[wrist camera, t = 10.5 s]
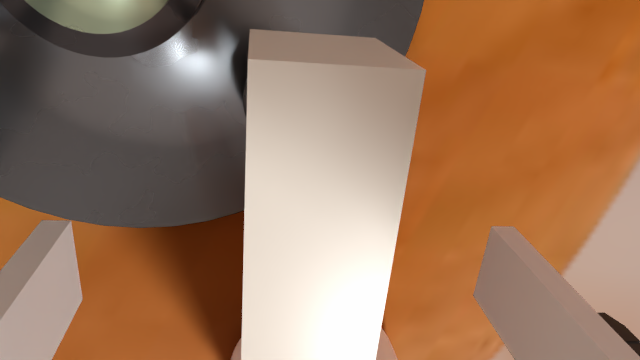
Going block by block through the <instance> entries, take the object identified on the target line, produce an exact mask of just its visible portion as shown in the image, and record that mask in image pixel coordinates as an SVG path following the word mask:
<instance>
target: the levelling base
mask: <svg viewBox="0 0 640 360" xmlns="http://www.w3.org/2000/svg"><path fill="white" fill-rule="evenodd" d="M423 2H424V0H0V197H1V198H4V199H6V200H9V201H12V202H14V203H17V204H19V205H22V206H24V207H27V208H29V209H33V210H36V211H40V212H43V213H47V214H51V215H54V216H58V217H61V218H65V219H69V220H75V221H81V222H86V223H92V224H98V225H104V226H119V227H135V228H146V227H169V226H179V225H185V224H192V223H198V222H204V221H209V220H213V219H216V218H220V217H224V216H227V215H231V214H234V213H238V212H241V211H243V210H244V208H245V163H246V118H247V73H248V49H249V34H250V29H258V30H272V31H286V32H300V33H314V34H328V35H342V36H356V37H370V38H376V39H378V40H380V41H381V42H383V43H384V44H386V45H387V46H389V47H391V48H392V49H394V50H395V51H397V52H398V53H400V54H402V55H403V56H405V55H406V53H407V51H408V49H409V46H410V43H411V40H412V37H413V35H414V32H415V29H416V26H417V23H418V20H419V17H420V14H421V11H422V6H423Z"/></svg>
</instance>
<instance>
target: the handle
mask: <svg viewBox="0 0 640 360" xmlns="http://www.w3.org/2000/svg"><path fill="white" fill-rule="evenodd" d="M425 73H426V70H425V69H423V68H422V67H420V66H419V65H417V64H416V63H414V62H413V61H411V60H409V59H408V58H406V57H405V56H403V55H402V54H400V53H398V52H397V51H395V50H394V49H392V48H391V47H389V46H387V45H386V44H384V43H383V42H381V41H380V40H378V39H376V38H370V37H356V36H342V35H328V34H314V33H300V32H286V31H272V30H258V29H250V34H249V49H248V73H247V118H246V163H245V208H244V253H243V298H242V343H241V360H376V354H377V348H378V343H379V337H380V331H381V325H382V320H383V314H384V308H385V303H386V297H387V291H388V285H389V280H390V274H391V268H392V262H393V257H394V251H395V245H396V240H397V234H398V228H399V222H400V217H401V211H402V205H403V199H404V194H405V188H406V182H407V177H408V171H409V165H410V159H411V154H412V148H413V142H414V136H415V131H416V125H417V119H418V114H419V108H420V102H421V96H422V91H423V85H424V79H425Z"/></svg>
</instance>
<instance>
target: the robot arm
mask: <svg viewBox="0 0 640 360" xmlns="http://www.w3.org/2000/svg"><path fill="white" fill-rule="evenodd" d="M473 296H474V298H475V299H476V301H477V302H478V304H479V305H480V307H481V308H482V310H483V312H484V313H485V315H486V316H487V318H488V319H489V321H490V322H491V324H492V325H493V327H494V328H495V330H496V332H497V333H498V335H499V336H500V338H501V339H502V341H503V342H504V344H505V345H506V347H507V349H508V350H509V352H510V353H511V355H512V356H513V358H514V359H515V360H640V341H639V340H638V339H637V338H636V337H635V336H634V335H633V334H632V333H631V332H630V331H629V330H628V329H627V328H626V327H625V326H624V325H623V324H621V323H619V322H618V321H616V320H615V319H613V318H612V317H610V316H609V315H607V314H606V313H597V312H596V311H595V310H594V309H593V308H592V307H591V306H590V305H589V304H588V303H587V302H586V301H585V300H584V299H583V298H582V297H581V296H580V295H579V293H577V291H576V290H574V288H573V287H572V286H571V285H570V284H569V283H568V282H567V281H566V280H565V279H564V278H563V277H562V276H561V275H560V274H559V273H558V272H557V271H556V270H555V269H554V268H553V267H552V266H551V265H550V264H549V263H548V261H547V260H546V259H545V258H544V257H543V256H542V255H541V254H540V253H539V252H538V251H537V250H536V249H535V248H534V247H533V246H532V245H531V244H530V243H529V242H528V241H527V240H526V239H525V238H524V237H523V236H522V235H521V234H520V233H519V232H518V231H517V229H516V228H515V227H505V226H492V227H491V231H490V234H489V238H488V242H487V246H486V249H485V253H484V257H483V261H482V264H481V268H480V272H479V276H478V279H477V283H476V287H475V291H474V294H473ZM81 301H82V292H81V286H80V279H79V272H78V265H77V258H76V252H75V245H74V238H73V231H72V225H71V221H53V220H42V221H41V222H40V223H39V225H38V226H37V227H36V228H35V229H34V231H33V232H32V233H31V234H30V235H29V237H28V238H27V239H26V240H25V242H24V243H23V244H22V245H21V246H20V248H19V249H18V250H17V251H16V252H15V254H14V255H13V256H12V257H11V259H10V260H9V261H8V262H7V263H6V265H5V266H4V267H3V268H2V269H1V271H0V360H52V358H53V356H54V354H55V352H56V350H57V348H58V346H59V344H60V342H61V340H62V338H63V336H64V334H65V332H66V331H67V329H68V327H69V325H70V323H71V321H72V319H73V317H74V315H75V313H76V311H77V309H78V307H79V305H80V303H81Z"/></svg>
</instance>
